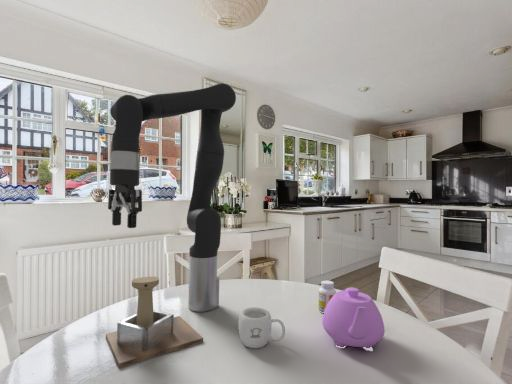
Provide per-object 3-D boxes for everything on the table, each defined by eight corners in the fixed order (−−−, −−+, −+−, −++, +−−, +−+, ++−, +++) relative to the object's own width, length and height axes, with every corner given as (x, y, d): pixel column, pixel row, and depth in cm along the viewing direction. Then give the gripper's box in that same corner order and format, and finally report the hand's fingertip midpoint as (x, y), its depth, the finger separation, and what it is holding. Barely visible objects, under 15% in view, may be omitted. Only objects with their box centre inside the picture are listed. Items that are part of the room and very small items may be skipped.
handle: (159, 341, 73) (159, 281, 73) (131, 345, 71) (131, 283, 71) (157, 332, 78) (158, 275, 78) (131, 336, 75) (131, 278, 75)
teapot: (398, 371, 65) (399, 308, 65) (325, 363, 67) (326, 303, 67) (373, 326, 86) (374, 279, 86) (319, 321, 89) (320, 276, 89)
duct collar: (147, 326, 81) (147, 308, 81) (173, 333, 78) (173, 314, 78) (117, 343, 72) (117, 322, 72) (144, 351, 69) (145, 330, 69)
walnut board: (179, 319, 88) (179, 315, 88) (203, 341, 76) (203, 337, 76) (105, 337, 77) (105, 333, 77) (118, 368, 64) (118, 363, 64)
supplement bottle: (335, 309, 98) (336, 280, 98) (335, 316, 93) (336, 285, 93) (318, 307, 100) (319, 279, 100) (318, 314, 94) (318, 283, 94)
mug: (236, 351, 71) (236, 318, 71) (239, 334, 80) (240, 305, 80) (285, 353, 71) (286, 321, 71) (284, 336, 79) (284, 307, 79)
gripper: (151, 168, 81) (150, 227, 81) (125, 170, 90) (124, 223, 90) (125, 166, 75) (123, 230, 75) (99, 168, 84) (98, 225, 84)
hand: (123, 226), depth 82 cm, fingers open, 8 cm apart
